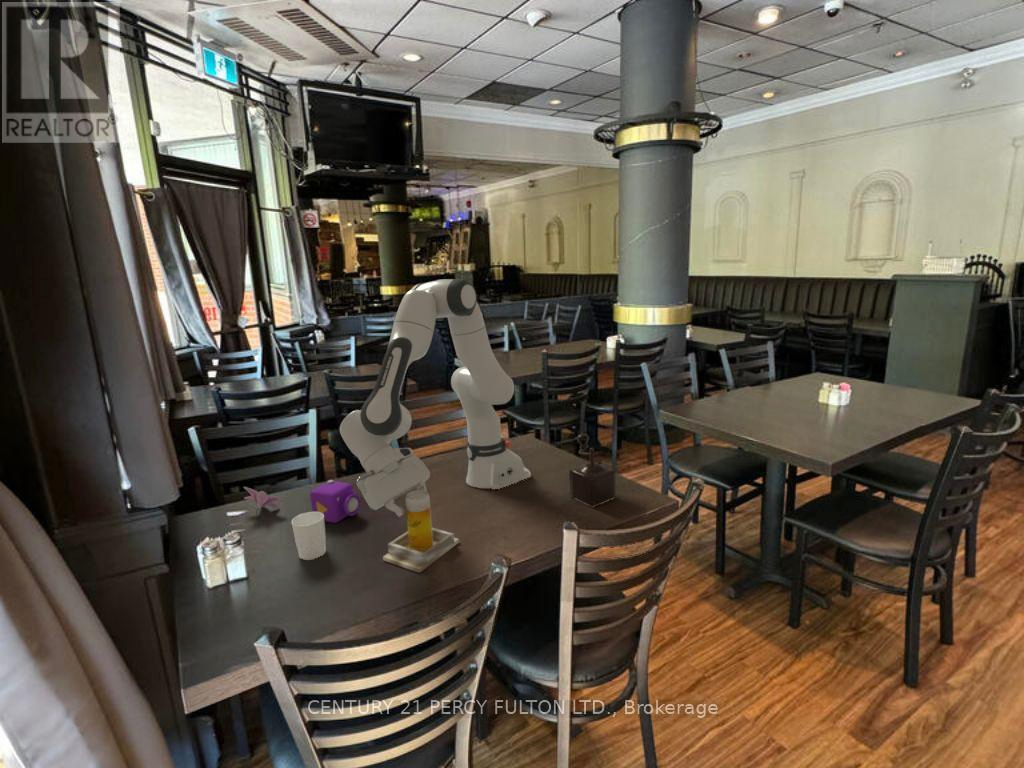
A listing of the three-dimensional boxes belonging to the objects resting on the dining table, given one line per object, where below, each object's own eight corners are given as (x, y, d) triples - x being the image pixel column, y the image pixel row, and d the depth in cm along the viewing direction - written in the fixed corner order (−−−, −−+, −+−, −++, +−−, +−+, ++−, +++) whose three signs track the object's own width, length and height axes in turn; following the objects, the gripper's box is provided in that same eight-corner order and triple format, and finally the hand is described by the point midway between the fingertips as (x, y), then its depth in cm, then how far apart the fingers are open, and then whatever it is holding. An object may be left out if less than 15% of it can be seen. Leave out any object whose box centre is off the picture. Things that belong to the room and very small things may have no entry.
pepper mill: (618, 498, 162) (618, 443, 158) (592, 508, 156) (591, 451, 152) (584, 482, 174) (583, 431, 170) (558, 491, 168) (557, 438, 164)
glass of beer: (407, 545, 137) (402, 492, 134) (429, 539, 140) (425, 487, 136) (412, 556, 132) (407, 501, 129) (436, 550, 134) (431, 496, 131)
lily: (288, 519, 159) (291, 487, 162) (248, 518, 151) (252, 484, 153) (269, 521, 167) (272, 490, 169) (230, 520, 158) (234, 488, 161)
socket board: (383, 560, 133) (381, 547, 132) (424, 532, 146) (423, 520, 145) (419, 572, 127) (418, 559, 126) (459, 542, 140) (458, 530, 139)
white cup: (304, 545, 141) (299, 511, 139) (332, 545, 141) (328, 511, 139) (291, 562, 134) (286, 526, 131) (321, 561, 133) (316, 525, 131)
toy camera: (351, 526, 151) (347, 494, 149) (308, 523, 154) (304, 492, 151) (368, 509, 161) (365, 479, 159) (328, 507, 164) (324, 477, 162)
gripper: (358, 472, 127) (392, 518, 124) (414, 445, 144) (445, 485, 141) (347, 486, 130) (380, 530, 127) (404, 458, 147) (434, 497, 144)
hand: (415, 506), depth 134 cm, fingers open, 8 cm apart
